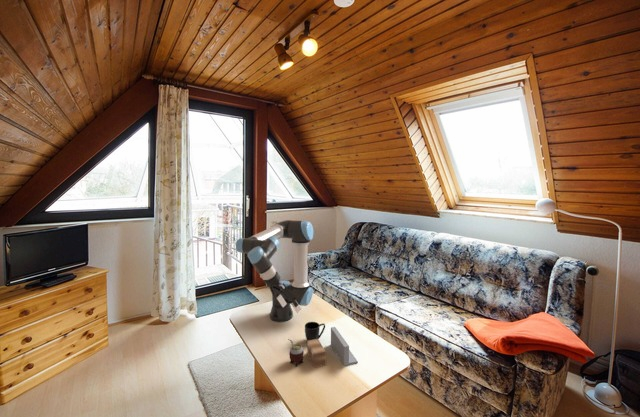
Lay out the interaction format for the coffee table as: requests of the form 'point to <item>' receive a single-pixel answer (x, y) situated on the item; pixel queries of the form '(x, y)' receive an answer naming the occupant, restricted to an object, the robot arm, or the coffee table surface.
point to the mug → (313, 330)
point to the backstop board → (341, 348)
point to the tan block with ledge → (316, 353)
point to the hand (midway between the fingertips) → (291, 308)
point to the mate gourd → (296, 354)
